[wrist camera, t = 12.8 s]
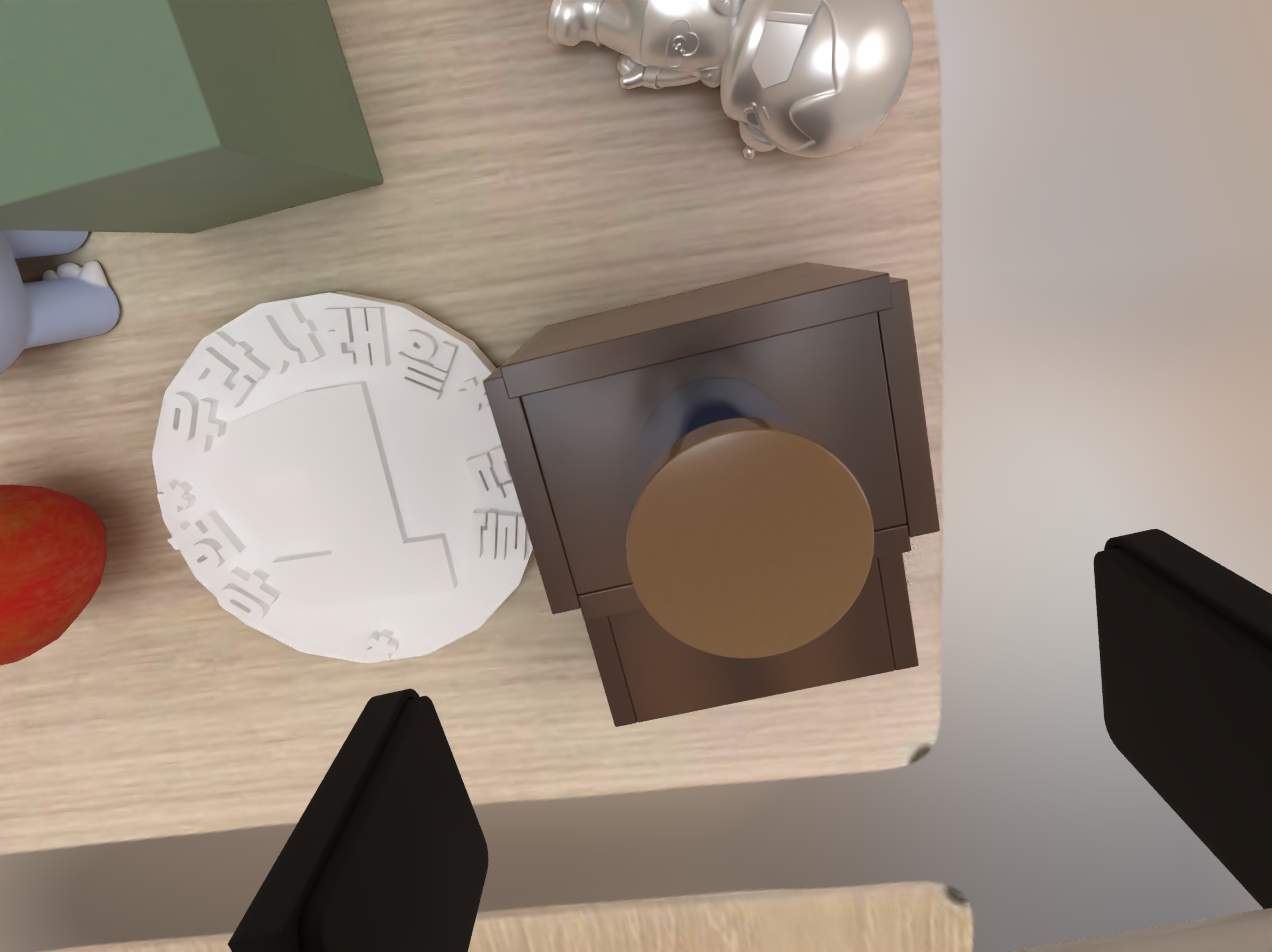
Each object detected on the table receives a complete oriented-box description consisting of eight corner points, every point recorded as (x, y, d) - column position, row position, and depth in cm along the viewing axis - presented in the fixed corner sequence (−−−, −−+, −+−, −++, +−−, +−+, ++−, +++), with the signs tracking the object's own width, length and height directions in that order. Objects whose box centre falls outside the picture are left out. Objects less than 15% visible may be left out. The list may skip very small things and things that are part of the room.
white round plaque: (174, 607, 44) (142, 632, 41) (180, 256, 38) (143, 257, 35) (519, 667, 45) (511, 696, 42) (576, 334, 39) (571, 342, 36)
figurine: (533, -145, 26) (945, 11, 25) (619, -218, 30) (983, -85, 29) (529, 125, 35) (830, 248, 34) (595, 44, 39) (870, 153, 38)
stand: (310, -50, 34) (70, -262, 20) (384, 183, 37) (221, 146, 22) (104, 9, 35) (-272, -153, 20) (192, 233, 38) (-85, 229, 23)
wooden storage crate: (831, 256, 38) (925, 264, 25) (888, 619, 44) (987, 770, 31) (521, 331, 39) (465, 374, 26) (618, 675, 45) (609, 842, 32)
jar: (789, 353, 28) (854, 402, 20) (819, 520, 30) (891, 632, 22) (611, 394, 29) (599, 461, 20) (652, 557, 31) (657, 680, 22)
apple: (147, 615, 44) (-5, 731, 33) (-3, 566, 43) (-207, 669, 33) (176, 483, 41) (22, 565, 31) (18, 428, 41) (-195, 492, 30)
